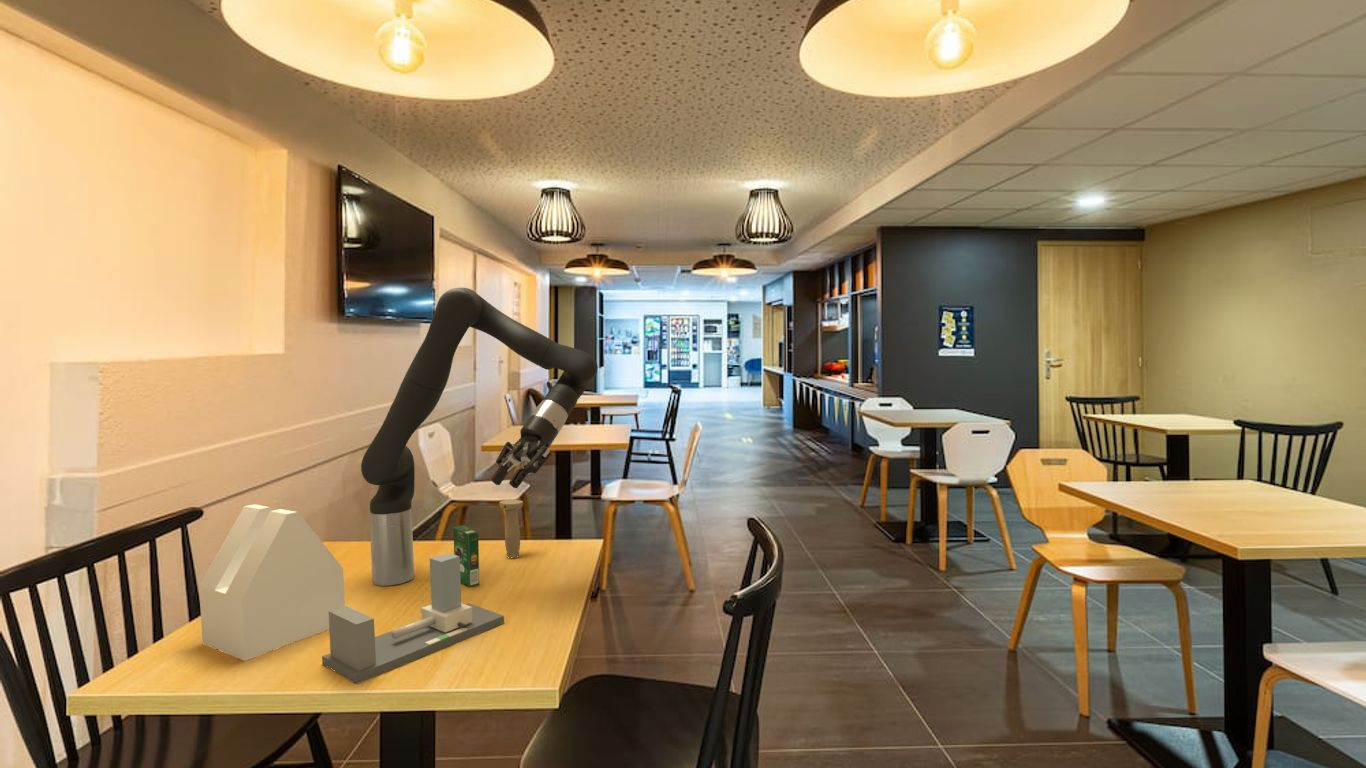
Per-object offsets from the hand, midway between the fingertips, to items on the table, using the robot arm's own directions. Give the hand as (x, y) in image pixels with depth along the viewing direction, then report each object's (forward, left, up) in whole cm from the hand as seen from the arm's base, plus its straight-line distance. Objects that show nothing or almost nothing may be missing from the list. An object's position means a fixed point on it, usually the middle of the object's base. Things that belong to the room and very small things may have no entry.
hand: (503, 484), depth 143 cm
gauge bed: (+2, -22, -26) cm, 34 cm away
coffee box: (-19, +3, -27) cm, 33 cm away
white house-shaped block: (-26, -36, -27) cm, 52 cm away
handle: (-26, +22, -26) cm, 43 cm away
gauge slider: (+3, -20, -24) cm, 32 cm away
